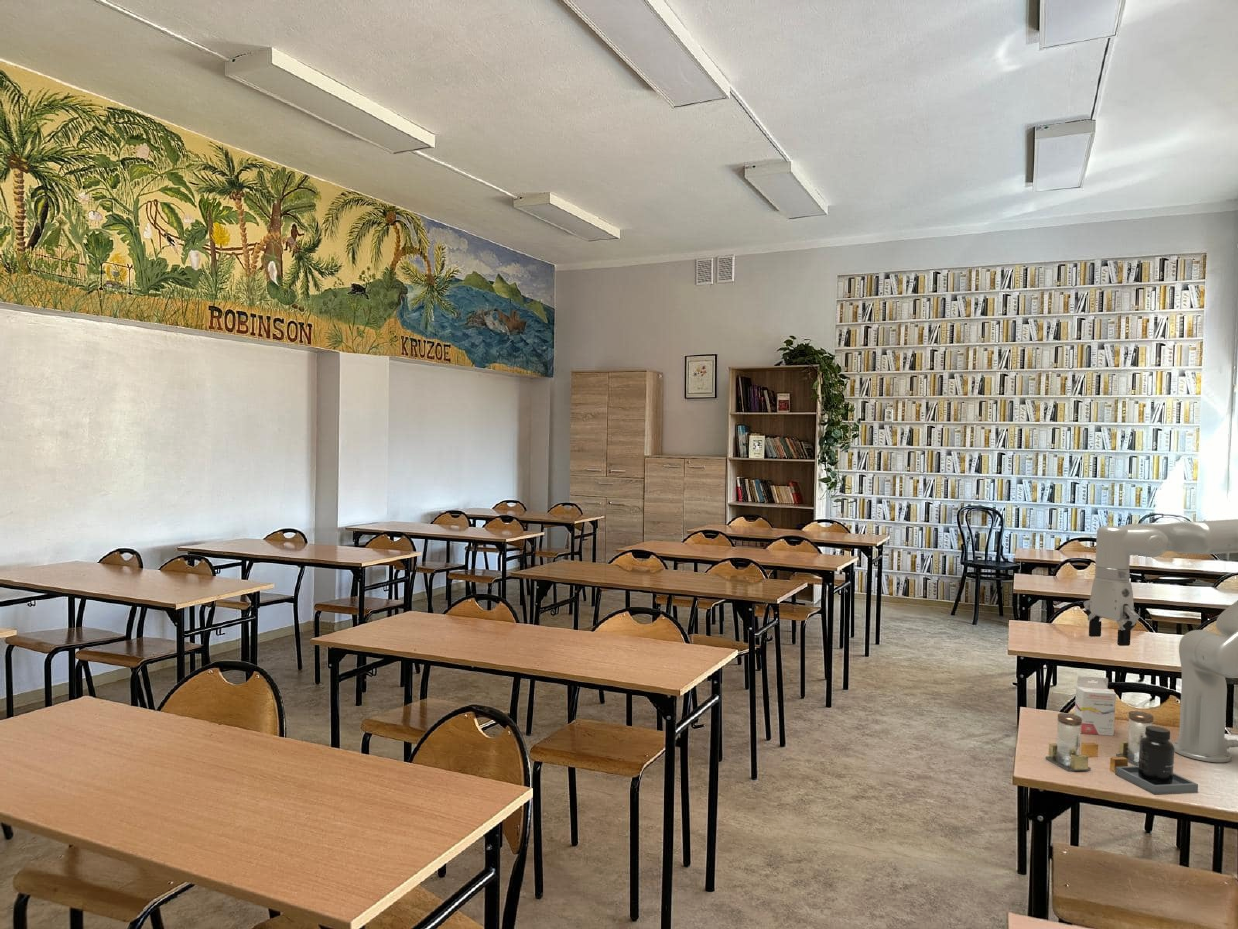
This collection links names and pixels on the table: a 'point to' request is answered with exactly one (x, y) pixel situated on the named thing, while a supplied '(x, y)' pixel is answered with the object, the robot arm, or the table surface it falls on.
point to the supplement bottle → (1156, 756)
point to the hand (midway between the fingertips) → (1108, 640)
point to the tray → (1176, 786)
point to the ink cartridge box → (1095, 706)
